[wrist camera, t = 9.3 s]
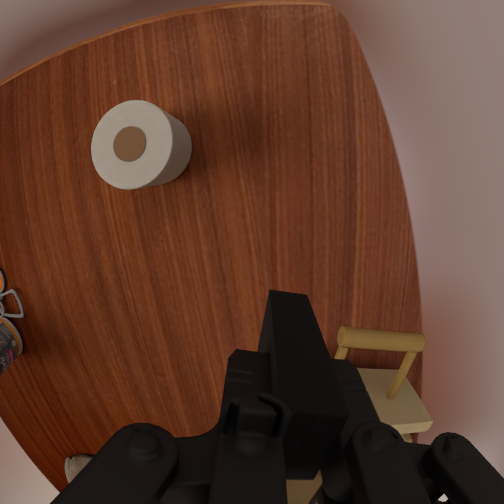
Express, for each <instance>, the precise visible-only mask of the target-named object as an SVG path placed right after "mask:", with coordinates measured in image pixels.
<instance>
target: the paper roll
mask: <svg viewBox="0 0 504 504" xmlns="http://www.w3.org/2000/svg"><path fill="white" fill-rule="evenodd" d="M191 152H192V142H191V137H190V134H189V132H188V130H187V128H186V127H185V126H184V124H183V123H182V122H180V121H179V120H178V119H176V118H175V117H173V116H172V115H170V114H168V113H167V112H165V111H164V110H162V109H160V108H159V107H157V106H156V105H154V104H152V103H150V102H147V101H142V100H131V101H126V102H124V103H121V104H119V105H117V106H115V107H114V108H112V109H111V110H110V111H108V112H107V113H106V114H105V115H104V116H103V118H102V119H101V120H100V122H99V124H98V125H97V127H96V129H95V132H94V135H93V139H92V146H91V154H92V160H93V163H94V166H95V168H96V170H97V172H98V174H99V175H100V176H101V177H102V178H103V179H104V180H105V181H106V182H107V183H109V184H110V185H112V186H114V187H117V188H120V189H137V188H143V187H149V186H155V185H161V184H165V183H168V182H170V181H172V180H174V179H175V178H177V177H178V176H179V175H180V174H181V173H182V172H183V171H184V169H185V168H186V166H187V164H188V162H189V160H190V157H191Z"/></svg>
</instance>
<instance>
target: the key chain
mask: <svg viewBox="0 0 504 504" xmlns="http://www.w3.org/2000/svg"><path fill="white" fill-rule="evenodd" d="M4 287H5V281H4V277H3V274H2V272H1V270H0V293H1V295H0V297H1V298H0V300H1V299H2V298H3V296H4V295H6V294H8V293H13V294H14V295H15V297H16V299H17V301H18V304H19V307H20V310H21V314H19V315H17V314H7V313H5V309H4V306H3V304H2V302H1V301H0V305H1V307H2V309H1V307H0V313H1V316H0V317H4V316H7V317H16V318H22V317H24V311H23V307H22V304H21V301H20V299H19V297H18V295H17V293H16V292H15V290H14V289H12V290H9V291H8V292H5V293H3V294H2V291H3V290H4Z"/></svg>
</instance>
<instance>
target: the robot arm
mask: <svg viewBox="0 0 504 504" xmlns="http://www.w3.org/2000/svg"><path fill="white" fill-rule="evenodd" d="M319 470H320V472H321V477H322V484H321V485H320V487H319V488H318V490H317V491H316V493H315V494H314V496H313V497H312V498H311V500H310V501H309V504H316V503H318V504H504V478H503V477H502V476H501V475H500V474H499V473H498V472H497V471H496V469H495V468H494V467H493V466H492V465H491V464H490V463H489V462H488V461H487V460H486V459H485V458H484V457H483V456H482V454H481V453H480V452H479V451H478V450H477V449H476V448H475V447H474V446H473V445H472V444H471V442H470V441H468V440H467V439H466V438H465V437H463V436H461V435H459V434H456V433H450V432H447V433H442V434H440V435H439V436H437V437H436V438H435V439H434V441H433V442H432V443H431V445H425V444H417V443H410V442H406V441H404V439H403V437H402V436H401V434H400V433H399V432H398V430H396V429H395V428H393V427H392V426H391V425H388V424H386V423H383V422H381V421H380V419H379V416H378V414H377V412H376V409H375V407H374V405H373V403H372V400H371V398H370V396H369V393H368V391H366V387H365V384H364V382H362V378H361V376H360V373H359V371H358V369H357V368H356V367H355V366H354V365H353V364H352V363H351V362H349V361H348V360H346V359H331V358H330V356H329V353H328V350H327V348H326V345H325V342H324V339H323V337H322V334H321V331H320V328H319V326H318V323H317V320H316V318H315V315H314V312H313V310H312V307H311V304H310V302H309V299H308V296H307V295H304V294H297V293H290V292H283V291H276V290H269V295H268V300H267V305H266V310H265V315H264V320H263V325H262V330H261V335H260V340H259V345H258V352H254V351H247V350H240V349H236V350H235V351H234V353H233V354H232V355H231V356H230V357H229V358H228V364H227V371H226V378H225V385H224V391H223V398H222V405H221V412H220V418H219V421H218V423H217V424H216V425H215V427H214V428H213V429H211V430H210V431H208V432H207V433H204V434H202V435H199V436H193V437H180V438H174V437H173V436H172V435H171V433H170V432H168V431H166V430H165V429H163V428H162V427H160V426H156V425H153V424H149V423H134V424H131V425H127V426H124V427H123V428H121V429H120V430H118V431H117V432H116V433H115V434H114V435H113V436H112V437H111V438H110V439H109V440H108V441H107V442H106V444H105V445H104V446H103V447H102V448H101V449H100V450H99V451H98V452H97V453H96V455H95V456H94V457H93V458H92V459H91V460H90V461H89V462H88V463H87V464H86V465H85V467H84V468H83V469H82V470H81V471H80V472H79V473H78V474H77V475H76V476H75V477H74V478H73V480H72V481H71V482H70V483H69V484H68V485H67V486H66V487H65V488H64V489H63V490H62V491H61V492H60V494H59V495H58V496H57V497H56V498H55V499H54V500H53V501H52V502H51V503H50V504H288V500H287V486H286V480H314V478H315V477H316V475H317V473H318V472H319ZM443 494H445V495H446V496H447V498H448V500H447V501H446V502H441V501H439V500H438V499H439V498H440V497H441V496H442V495H443Z"/></svg>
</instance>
